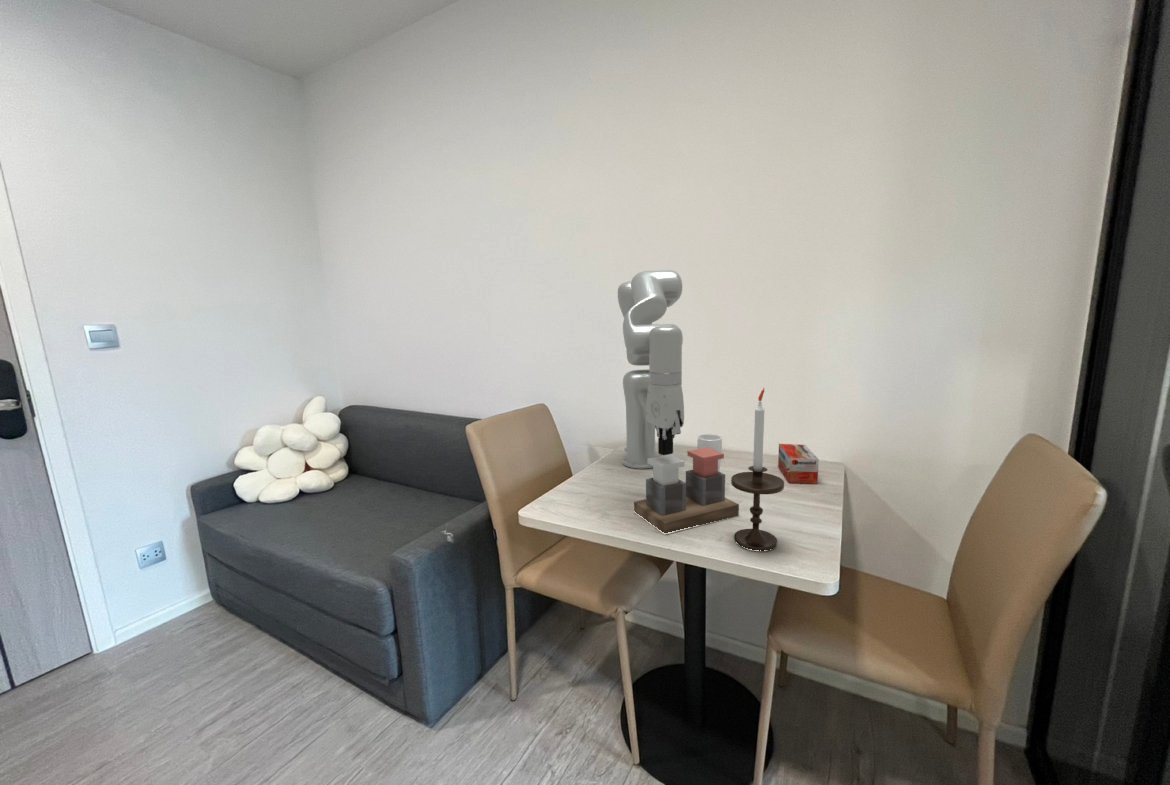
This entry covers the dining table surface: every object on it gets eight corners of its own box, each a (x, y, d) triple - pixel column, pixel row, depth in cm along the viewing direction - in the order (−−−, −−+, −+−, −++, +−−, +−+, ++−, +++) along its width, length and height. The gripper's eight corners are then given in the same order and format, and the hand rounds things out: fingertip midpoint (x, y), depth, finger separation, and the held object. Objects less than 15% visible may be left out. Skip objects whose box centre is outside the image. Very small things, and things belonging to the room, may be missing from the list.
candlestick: (788, 539, 109) (796, 385, 102) (770, 559, 101) (776, 393, 94) (742, 526, 116) (746, 381, 109) (721, 543, 108) (724, 388, 102)
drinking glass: (718, 492, 136) (719, 441, 134) (694, 489, 139) (695, 439, 137) (722, 484, 142) (723, 434, 140) (699, 481, 145) (700, 432, 143)
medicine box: (818, 485, 140) (819, 458, 139) (788, 484, 141) (789, 458, 140) (803, 467, 155) (804, 443, 153) (776, 467, 156) (777, 443, 155)
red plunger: (687, 481, 126) (687, 451, 124) (707, 477, 129) (707, 447, 127) (702, 489, 120) (703, 457, 119) (723, 484, 123) (723, 453, 121)
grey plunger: (647, 489, 121) (647, 458, 120) (669, 485, 124) (669, 454, 122) (662, 498, 115) (661, 465, 114) (684, 493, 118) (684, 461, 116)
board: (634, 512, 125) (633, 475, 123) (703, 496, 134) (703, 461, 132) (664, 535, 112) (664, 494, 111) (738, 515, 121) (739, 477, 120)
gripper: (635, 376, 120) (636, 448, 123) (670, 384, 106) (670, 465, 109) (661, 374, 123) (661, 444, 126) (698, 381, 109) (697, 459, 113)
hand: (665, 453), depth 118 cm, fingers closed
